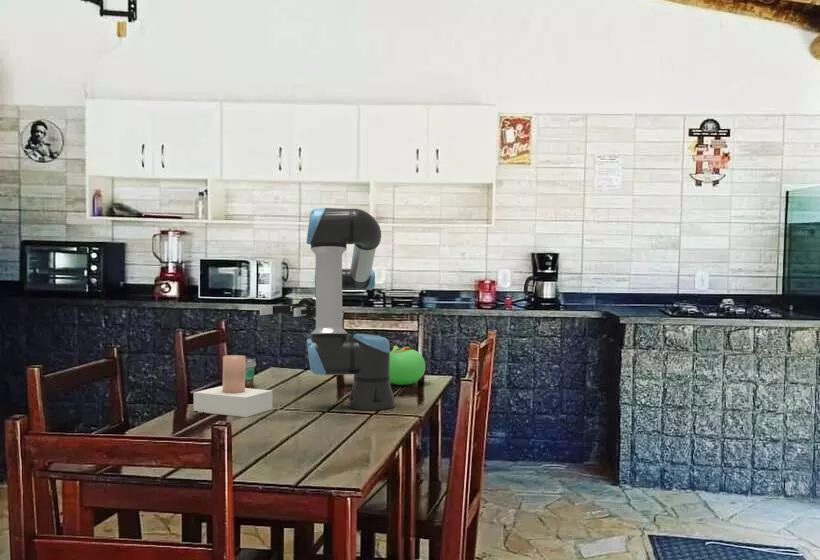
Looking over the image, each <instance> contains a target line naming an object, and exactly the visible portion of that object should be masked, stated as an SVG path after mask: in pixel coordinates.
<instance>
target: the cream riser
mask: <svg viewBox="0 0 820 560" xmlns="http://www.w3.org/2000/svg"><path fill="white" fill-rule="evenodd" d="M270 410H271V411H272V410H273V390H270V389H259V388H245V392H242V393H225V392H222V385H219V386H215V387H211V388H207V389H202V390H199V391H194V392H193V412H194V411H198V412H197V413H203V412H204V414H214V415H223V416H232V417H240V418H247V417H251V416H255V415H258V414H261V413H264V412H268V411H270Z"/></svg>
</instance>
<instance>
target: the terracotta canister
mask: <svg viewBox="0 0 820 560" xmlns="http://www.w3.org/2000/svg"><path fill="white" fill-rule="evenodd" d="M246 359H247V358H246V355H239V354H233V355H232V354H231V355H223V356H222V385H221V386H222V392H225V393H242V392H245V365H246Z"/></svg>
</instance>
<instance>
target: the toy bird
mask: <svg viewBox="0 0 820 560" xmlns="http://www.w3.org/2000/svg"><path fill="white" fill-rule="evenodd" d="M389 366H390V384H391V383H392V384H394V385H398V386H408V385H411V384H412V385H413V384H414V383H417V382H418V381H419V380H420V379H422V378H423V376H424V374H425V373H426V361H425V358H424V357H423V356H422V354H421V353H420V352H418V351H417V350H415V349H412V348H411V347H410V346H405V347H400V348H399V347H398V346H397V345H394V346H393V348H392V350H390V362H389Z"/></svg>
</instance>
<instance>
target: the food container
mask: <svg viewBox="0 0 820 560" xmlns="http://www.w3.org/2000/svg"><path fill="white" fill-rule="evenodd" d="M256 367H257V363H256V360H255V359H254V358H253V359H252V358H246V365H245V388H250V387H253V388H254V380H255V368H256ZM250 389H251V388H250Z"/></svg>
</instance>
